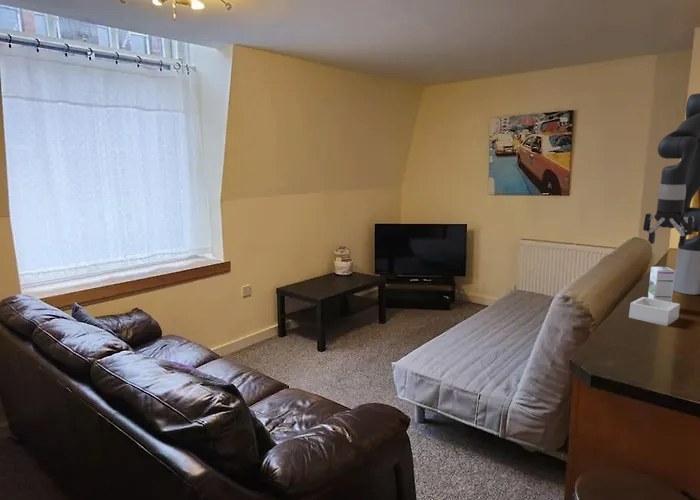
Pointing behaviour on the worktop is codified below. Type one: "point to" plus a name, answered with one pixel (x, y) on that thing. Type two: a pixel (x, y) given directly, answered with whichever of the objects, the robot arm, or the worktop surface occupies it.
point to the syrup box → (661, 283)
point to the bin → (654, 311)
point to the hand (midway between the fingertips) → (666, 245)
